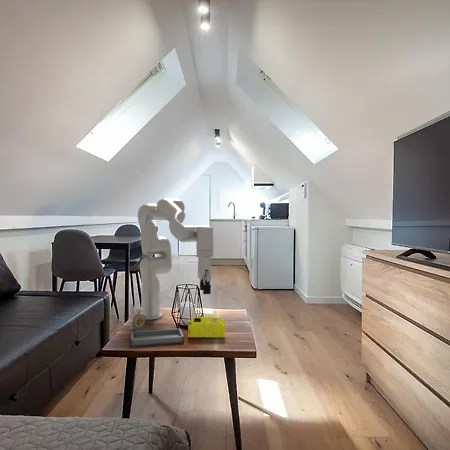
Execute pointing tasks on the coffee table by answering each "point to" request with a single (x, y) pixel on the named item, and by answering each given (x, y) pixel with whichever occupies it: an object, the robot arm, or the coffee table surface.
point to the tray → (156, 337)
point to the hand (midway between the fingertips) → (205, 292)
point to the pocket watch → (139, 322)
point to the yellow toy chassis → (206, 327)
